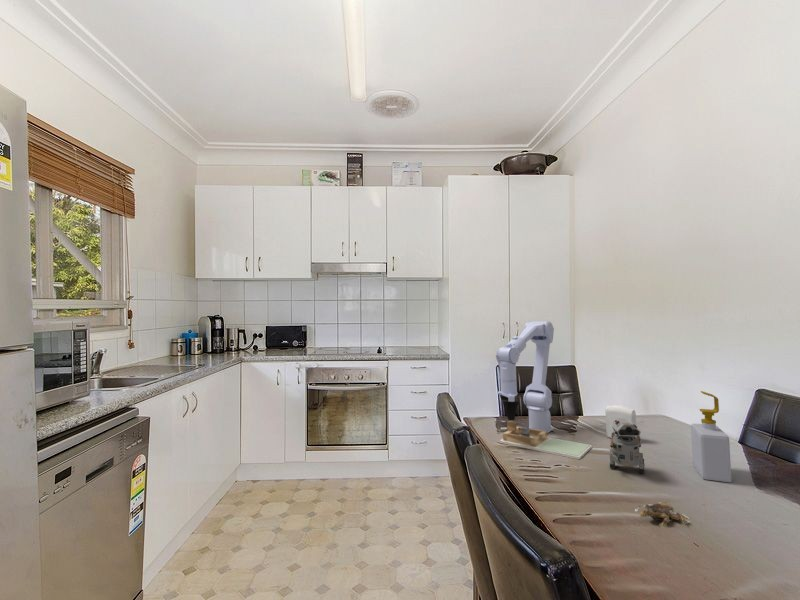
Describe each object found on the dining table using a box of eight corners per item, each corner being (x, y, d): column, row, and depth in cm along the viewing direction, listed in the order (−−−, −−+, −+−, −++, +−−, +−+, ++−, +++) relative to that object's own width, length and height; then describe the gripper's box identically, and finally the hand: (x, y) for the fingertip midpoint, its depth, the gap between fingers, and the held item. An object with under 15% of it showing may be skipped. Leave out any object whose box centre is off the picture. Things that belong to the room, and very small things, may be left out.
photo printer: (604, 437, 149) (603, 404, 150) (609, 435, 152) (608, 402, 153) (634, 444, 141) (632, 408, 142) (639, 441, 144) (637, 406, 145)
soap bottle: (692, 464, 122) (688, 387, 123) (719, 467, 119) (715, 388, 120) (702, 479, 111) (698, 395, 112) (732, 483, 108) (727, 397, 109)
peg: (523, 437, 149) (523, 426, 149) (531, 439, 147) (530, 428, 147) (520, 439, 147) (519, 428, 147) (527, 441, 145) (527, 430, 145)
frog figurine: (673, 539, 84) (672, 520, 84) (622, 513, 95) (621, 497, 95) (707, 526, 88) (706, 509, 88) (654, 503, 99) (653, 487, 99)
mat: (552, 438, 147) (552, 438, 147) (589, 445, 139) (589, 444, 139) (538, 448, 137) (538, 447, 137) (578, 456, 129) (578, 455, 129)
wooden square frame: (515, 432, 156) (514, 418, 156) (547, 438, 148) (547, 423, 148) (501, 439, 147) (500, 424, 147) (535, 446, 139) (534, 430, 139)
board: (515, 433, 157) (515, 431, 157) (591, 447, 139) (591, 445, 139) (499, 442, 146) (499, 440, 146) (579, 459, 128) (579, 456, 128)
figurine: (608, 476, 115) (606, 423, 115) (610, 462, 125) (608, 414, 125) (645, 482, 110) (643, 427, 111) (644, 468, 120) (642, 417, 120)
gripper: (495, 376, 154) (496, 411, 153) (499, 383, 140) (500, 422, 139) (514, 376, 153) (515, 412, 152) (520, 383, 139) (521, 422, 138)
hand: (509, 417), depth 146 cm, fingers open, 7 cm apart
